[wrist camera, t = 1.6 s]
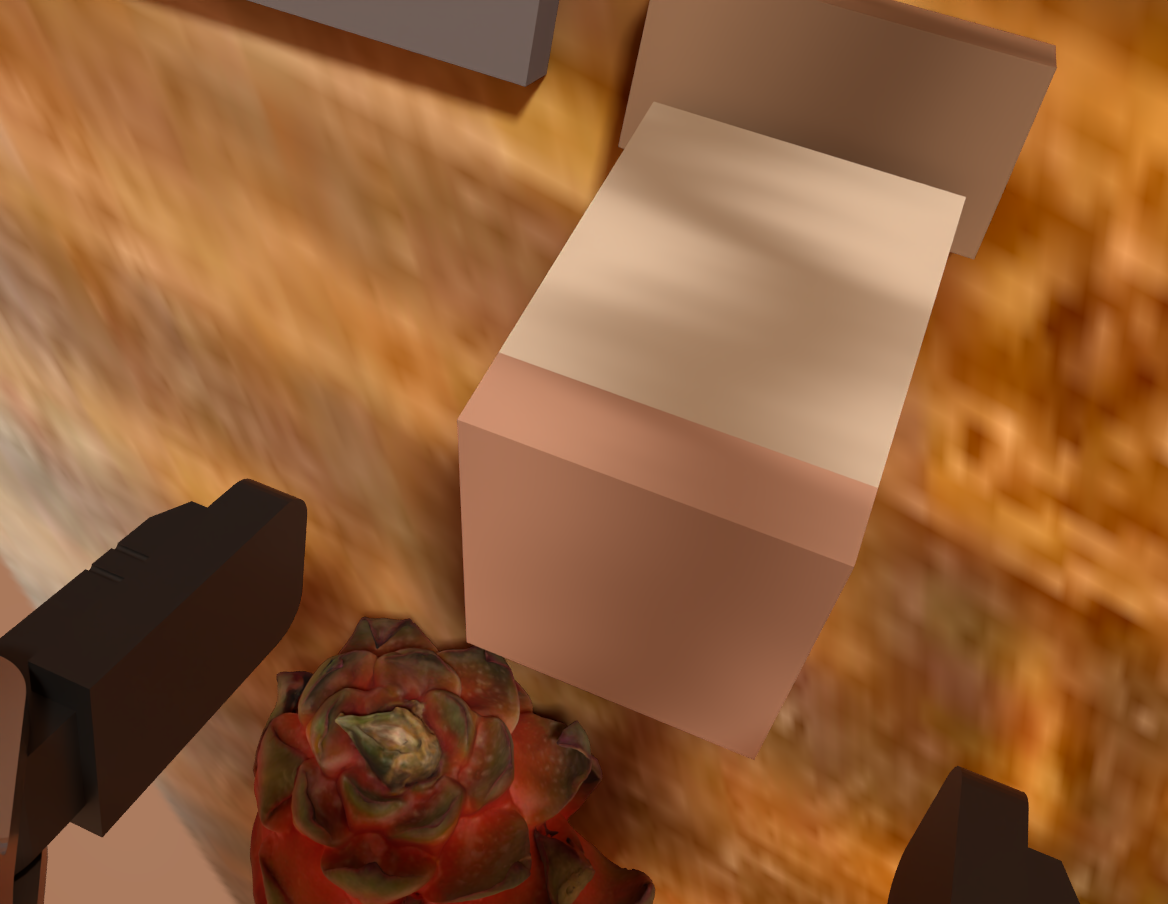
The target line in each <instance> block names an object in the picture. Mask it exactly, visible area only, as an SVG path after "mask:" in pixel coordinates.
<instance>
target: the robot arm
mask: <svg viewBox="0 0 1168 904" xmlns="http://www.w3.org/2000/svg"><path fill="white" fill-rule="evenodd" d="M306 525H307V507H306V504H305V502H304V501H303V500H301V499H299V498H296V497H294V496H291V495H289V494H286V493H284V492H281V491H279V490H276V489H274V488H271V487H269V486H266V485H264V484H261V483H259V482H256V481H254V480H251V479H243V480H241V481H239V482H237V483H236V484H235V485H233V486H232V487H231V488H230V489H229V490H228V491H226V492H225V493H224V494H223V495H222V496H220V497H219V498H218V499H217V500H216V501H215V502H213V503H212V504H211V505H210V506H209V507H208V508H207V507H205V506H202V505H200V504H197V503H195V502H192V501H191V502H188V503H186V504H183V505H181V506H178V507H176V508H173V509H171V510H168V511H165V512H163V513H160V514H158V515H155V516H153V517H150V518H148V519H147V520H146V521H145V522H143V523H142V524H141V525H140V526H139V527H137V528H136V529H135V530H134V531H132V532H131V533H130V534H129V535H127V536H126V537H125V538H124V539H122V540H121V541H120V542H119V543H118V545H117V547H116V549H112V548H111V549H110V550H109V551H108V552H106V553H105V554H104V555H103V556H101V557H100V558H99V559H98V560H96V561H95V562H94V563H93V564H92V567H91V569H90V570H89V571H88V570H86V569H85V570H84V571H83V572H82V573H80V574H79V575H78V576H77V577H75V578H74V579H73V580H72V581H70V582H69V583H68V584H67V585H66V586H64V587H63V588H62V589H61V590H59V591H58V592H57V593H56V594H54V595H53V596H52V597H51V598H49V599H48V600H47V601H46V602H44V603H43V604H42V605H41V606H40V607H38V608H37V609H36V610H35V611H33V612H32V613H31V614H30V615H28V616H27V617H26V618H25V619H24V620H22V621H21V622H20V623H19V624H17V625H16V626H15V627H14V628H12V629H11V630H10V631H9V632H7V633H6V634H5V635H4V636H2V637H1V638H0V904H44V895H45V884H46V871H47V861H48V848H47V845H48V844H49V843H50V842H51V841H52V840H53V839H54V838H55V837H56V836H57V835H58V834H59V833H60V831H61V830H62V829H63V828H64V827H65V826H66V825H67V824H68V823H69V822H72V823H74V824H76V825H78V826H80V827H82V828H84V829H86V830H88V831H90V832H92V833H94V834H96V835H98V836H100V837H103V836H104V835H105V834H106V833H107V832H108V831H109V829H110V828H111V827H112V826H113V825H114V824H115V823H116V822H117V821H118V820H119V818H120V817H121V816H122V815H123V814H124V813H125V812H126V811H127V809H129V807H130V806H131V805H132V804H133V803H134V802H135V801H136V800H137V799H138V797H139V796H140V795H141V794H142V793H143V792H144V791H145V790H146V789H147V787H148V786H149V785H150V784H151V783H152V782H153V781H154V780H155V779H156V778H157V776H158V775H159V774H160V773H161V772H162V771H163V770H164V769H165V768H166V767H167V765H168V764H169V763H170V762H171V761H172V760H173V759H174V758H175V757H176V755H177V754H178V753H179V752H180V751H181V750H182V749H183V748H184V747H185V746H186V744H187V743H188V742H189V741H190V740H191V739H192V738H193V737H194V736H195V734H196V733H197V732H198V731H199V730H200V729H201V728H202V727H203V726H204V724H205V723H206V722H207V721H208V720H209V719H210V718H211V717H212V716H213V715H214V713H215V712H216V711H217V710H218V709H219V708H220V707H221V706H222V705H223V703H224V702H225V701H226V700H227V699H228V698H229V697H230V696H231V695H232V694H233V692H234V691H235V690H236V689H237V688H238V687H239V686H240V685H241V684H242V682H243V681H244V680H245V679H246V678H247V677H248V676H249V675H250V674H251V673H252V671H253V670H254V669H255V668H256V667H257V666H258V665H259V664H260V663H261V661H262V660H263V659H264V658H265V657H266V656H267V655H268V654H269V653H270V652H271V650H272V649H273V648H274V647H275V646H276V645H277V644H278V643H279V641H280V640H281V639H282V638H283V636H284V635H285V634H286V632H287V630H288V629H289V627H290V625H291V623H292V622H293V620H294V617H295V615H296V613H297V610H298V607H299V604H300V600H301V596H302V586H303V571H304V556H305V540H306ZM1028 811H1029V807H1028V798H1027V795H1026V794H1025V793H1024V792H1021V791H1019V790H1016V789H1014V788H1012V787H1009V786H1007V785H1004V784H1002V783H999V782H997V781H994V780H992V779H989V778H987V777H984V776H982V775H979V774H977V773H974V772H972V771H969V770H967V769H964V768H962V767H959V766H957V767H955V768H954V769H953V770H952V771H951V772H950V774H949V775H948V777H947V778H946V780H945V782H944V784H943V785H942V787H941V789H940V790H939V792H938V794H937V796H936V797H935V799H934V801H933V802H932V804H931V806H930V808H929V809H928V811H927V813H926V814H925V816H924V818H923V820H922V821H921V823H920V825H919V826H918V828H917V830H916V832H915V833H914V835H913V837H912V838H911V840H910V842H909V844H908V845H907V847H906V849H905V851H904V853H903V855H902V857H901V860H900V862H899V865H898V867H897V870H896V873H895V876H894V879H893V882H892V886H891V890H890V893H889V898H888V903H887V904H1080V903H1079V901H1078V898H1077V896H1076V894H1075V891H1074V889H1073V887H1072V884H1071V882H1070V880H1069V878H1068V875H1067V873H1066V871H1065V868H1064V866H1063V864H1062V861H1060V860H1058V859H1055V858H1053V857H1050V856H1048V855H1045V854H1043V853H1041V852H1038V851H1036V850H1033V849H1031V848H1028Z"/></svg>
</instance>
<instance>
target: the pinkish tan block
mask: <svg viewBox="0 0 1168 904" xmlns="http://www.w3.org/2000/svg"><path fill="white" fill-rule="evenodd" d="M965 199H966V197H964V196H961V195H957V194H954V193H951V192H948V191H944V190H941V189H938V188H935V187H931V186H928V185H925V184H922V183H918V182H915V181H912V180H908V179H905V178H902V177H899V176H895V175H892V174H889V173H886V172H882V171H879V170H876V169H873V168H869V167H866V166H863V165H860V164H856V163H853V162H850V161H846V160H843V159H840V158H837V157H833V156H830V155H827V154H824V153H820V152H817V151H814V150H811V149H807V148H804V147H801V146H798V145H794V144H791V143H788V142H784V141H781V140H778V139H775V138H771V137H768V136H765V135H762V134H758V133H755V132H752V131H749V130H745V129H742V128H739V127H736V126H732V125H729V124H726V123H722V122H719V121H716V120H713V119H709V118H706V117H703V116H700V115H696V114H693V113H690V112H687V111H683V110H680V109H677V108H673V107H670V106H667V105H664V104H660V103H657V102H653V103H652V105H651V107H650V108H649V110H648V112H647V113H646V115H645V116H644V118H643V120H642V121H641V123H640V124H639V126H638V128H637V129H636V131H635V133H634V134H633V136H632V137H631V139H630V141H629V142H628V144H627V146H626V147H625V149H624V150H623V152H622V154H621V155H620V157H619V158H618V160H617V162H616V163H615V165H614V167H613V168H612V170H611V171H610V173H609V175H608V176H607V178H606V180H605V181H604V183H603V184H602V186H601V188H600V189H599V191H598V192H597V194H596V196H595V197H594V199H593V201H592V202H591V204H590V205H589V207H588V209H587V210H586V212H585V214H584V215H583V217H582V218H581V220H580V222H579V223H578V225H577V226H576V228H575V230H574V231H573V233H572V235H571V236H570V238H569V239H568V241H567V243H566V244H565V246H564V248H563V249H562V251H561V252H560V254H559V256H558V257H557V259H556V260H555V262H554V264H553V265H552V267H551V269H550V270H549V272H548V273H547V275H546V277H545V278H544V280H543V282H542V283H541V285H540V286H539V288H538V290H537V291H536V293H535V294H534V296H533V298H532V299H531V301H530V303H529V304H528V306H527V307H526V309H525V311H524V312H523V314H522V316H521V317H520V319H519V320H518V322H517V324H516V325H515V327H514V328H513V330H512V332H511V333H510V335H509V337H508V338H507V340H506V341H505V343H504V345H503V346H502V348H501V350H500V351H499V353H498V354H497V356H496V358H495V359H494V361H493V362H492V364H491V366H490V367H489V369H488V371H487V372H486V374H485V375H484V377H483V379H482V380H481V382H480V384H479V385H478V387H477V388H476V390H475V392H474V393H473V395H472V396H471V398H470V400H469V401H468V403H467V405H466V406H465V408H464V409H463V411H462V413H461V414H460V416H459V418H458V419H457V424H458V448H459V472H460V496H461V520H462V544H463V568H464V591H465V615H466V639H467V642H468V643H470V644H473V645H475V646H477V647H480V648H482V649H485V650H487V651H490V652H492V653H495V654H497V655H499V656H502V657H504V658H507V659H509V660H512V661H514V662H517V663H519V664H521V665H524V666H526V667H529V668H531V669H534V670H536V671H538V672H541V673H543V674H546V675H548V676H551V677H553V678H556V679H558V680H560V681H563V682H565V683H568V684H570V685H573V686H575V687H578V688H580V689H582V690H585V691H587V692H590V693H592V694H595V695H597V696H599V697H602V698H604V699H607V700H609V701H612V702H614V703H617V704H619V705H621V706H624V707H626V708H629V709H631V710H634V711H636V712H639V713H641V714H643V715H646V716H648V717H651V718H653V719H656V720H658V721H660V722H663V723H665V724H668V725H670V726H673V727H675V728H678V729H680V730H682V731H685V732H687V733H690V734H692V735H695V736H697V737H700V738H702V739H704V740H707V741H709V742H712V743H714V744H717V745H719V746H721V747H724V748H726V749H729V750H731V751H734V752H736V753H739V754H741V755H743V756H746V757H748V758H751V759H753V760H754V759H755V757H756V755H757V753H758V752H759V750H760V748H761V746H762V744H763V742H764V740H765V738H766V736H767V734H768V732H769V730H770V728H771V726H772V724H773V723H774V721H775V719H776V717H777V715H778V713H779V711H780V709H781V707H782V705H783V703H784V701H785V699H786V697H787V696H788V694H789V692H790V690H791V688H792V686H793V684H794V682H795V680H796V678H797V676H798V674H799V672H800V670H801V668H802V667H803V665H804V663H805V661H806V659H807V657H808V655H809V653H810V651H811V649H812V647H813V645H814V643H815V641H816V640H817V638H818V636H819V634H820V632H821V630H822V628H823V626H824V624H825V622H826V620H827V618H828V616H829V614H830V612H831V611H832V609H833V607H834V605H835V603H836V601H837V599H838V597H839V595H840V593H841V591H842V589H843V587H844V585H845V584H846V582H847V580H848V578H849V576H850V574H851V572H852V570H853V568H854V566H855V562H856V559H857V556H858V552H859V549H860V546H861V542H862V539H863V536H864V532H865V529H866V526H867V523H868V519H869V516H870V513H871V509H872V506H873V503H874V499H875V496H876V493H877V490H878V486H879V483H880V480H881V476H882V473H883V470H884V466H885V463H886V460H887V456H888V453H889V450H890V447H891V443H892V440H893V437H894V433H895V430H896V427H897V423H898V420H899V417H900V413H901V410H902V407H903V404H904V400H905V397H906V394H907V390H908V387H909V384H910V380H911V377H912V374H913V371H914V367H915V364H916V361H917V357H918V354H919V351H920V347H921V344H922V341H923V337H924V334H925V331H926V328H927V324H928V321H929V318H930V314H931V311H932V308H933V304H934V301H935V298H936V294H937V291H938V288H939V285H940V281H941V278H942V275H943V271H944V268H945V265H946V261H947V258H948V255H949V252H950V248H951V245H952V242H953V238H954V235H955V232H956V228H957V225H958V222H959V218H960V215H961V212H962V209H963V205H964V202H965Z"/></svg>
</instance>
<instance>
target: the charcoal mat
mask: <svg viewBox="0 0 1168 904" xmlns="http://www.w3.org/2000/svg"><path fill="white" fill-rule="evenodd" d="M248 1H251V2H254V3H258V4H261V5H264V6H267V7H271V8H274V9H277V10H280V11H283V12H287V13H290V14H293V15H296V16H299V17H303V18H306V19H309V20H312V21H316V22H319V23H322V24H325V25H328V26H332V27H335V28H338V29H341V30H345V31H348V32H351V33H354V34H357V35H361V36H364V37H367V38H370V39H374V40H377V41H380V42H383V43H386V44H390V45H393V46H396V47H399V48H403V49H406V50H409V51H412V52H415V53H419V54H422V55H425V56H428V57H432V58H435V59H438V60H441V61H444V62H448V63H451V64H454V65H457V66H460V67H464V68H467V69H470V70H473V71H477V72H480V73H483V74H486V75H489V76H493V77H496V78H499V79H502V80H506V81H509V82H512V83H515V84H518V85H522V86H525V87H526V86H527V85H529V84H531V83H532V82H534V81H536V80H537V79H539V78H541V77H542V76H544V75H546V73H547V67H548V61H549V56H550V50H551V44H552V38H553V32H554V27H555V21H556V15H557V9H558V3H559V0H248Z"/></svg>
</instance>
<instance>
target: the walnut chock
mask: <svg viewBox="0 0 1168 904" xmlns="http://www.w3.org/2000/svg"><path fill="white" fill-rule="evenodd" d="M1056 68H1057V67H1056V47H1055V45H1052V44H1048V43H1045V42H1041V41H1037V40H1034V39H1030V38H1027V37H1023V36H1019V35H1016V34H1012V33H1009V32H1005V31H1001V30H998V29H994V28H991V27H987V26H983V25H980V24H976V23H973V22H969V21H965V20H962V19H958V18H955V17H951V16H947V15H944V14H940V13H937V12H933V11H930V10H926V9H922V8H919V7H915V6H912V5H908V4H904V3H901V2H897V1H894V0H650V2H649V7H648V11H647V16H646V21H645V25H644V30H643V34H642V39H641V44H640V48H639V53H638V57H637V62H636V67H635V71H634V76H633V81H632V85H631V90H630V94H629V99H628V104H627V108H626V113H625V117H624V122H623V127H622V131H621V136H620V141H619V145H618V147H620V148H623V149H625V147H626V146H627V144H628V142H629V141H630V139H631V137H632V136H633V134H634V133H635V131H636V129H637V128H638V126H639V124H640V123H641V121H642V120H643V118H644V116H645V115H646V113H647V112H648V110H649V108H650V107H651V105H652V103H653V102H657V103H660V104H664V105H667V106H670V107H673V108H677V109H680V110H683V111H687V112H690V113H693V114H696V115H700V116H703V117H706V118H709V119H713V120H716V121H719V122H722V123H726V124H729V125H732V126H736V127H739V128H742V129H745V130H749V131H752V132H755V133H758V134H762V135H765V136H768V137H771V138H775V139H778V140H781V141H784V142H788V143H791V144H794V145H798V146H801V147H804V148H807V149H811V150H814V151H817V152H820V153H824V154H827V155H830V156H833V157H837V158H840V159H843V160H846V161H850V162H853V163H856V164H860V165H863V166H866V167H869V168H873V169H876V170H879V171H882V172H886V173H889V174H892V175H895V176H899V177H902V178H905V179H908V180H912V181H915V182H918V183H922V184H925V185H928V186H931V187H935V188H938V189H941V190H944V191H948V192H951V193H954V194H957V195H961V196H964V197H966V199H965V202H964V205H963V209H962V212H961V215H960V218H959V222H958V225H957V228H956V232H955V235H954V238H953V242H952V245H951V248H950V252H952V253H955V254H959V255H962V256H965V257H968V258H971V259H974V258H975V256H976V254H977V251H978V249H979V247H980V244H981V242H982V240H983V237H984V235H985V233H986V231H987V228H988V226H989V224H990V221H991V219H992V217H993V214H994V212H995V210H996V207H997V205H998V203H999V200H1000V198H1001V196H1002V193H1003V191H1004V189H1005V187H1006V184H1007V182H1008V180H1009V177H1010V175H1011V173H1012V170H1013V168H1014V166H1015V163H1016V161H1017V159H1018V156H1019V154H1020V152H1021V149H1022V147H1023V145H1024V142H1025V140H1026V138H1027V136H1028V133H1029V131H1030V129H1031V126H1032V124H1033V122H1034V119H1035V117H1036V115H1037V112H1038V110H1039V108H1040V105H1041V103H1042V101H1043V98H1044V96H1045V94H1046V92H1047V89H1048V87H1049V85H1050V82H1051V80H1052V78H1053V75H1054V73H1055V71H1056Z"/></svg>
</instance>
